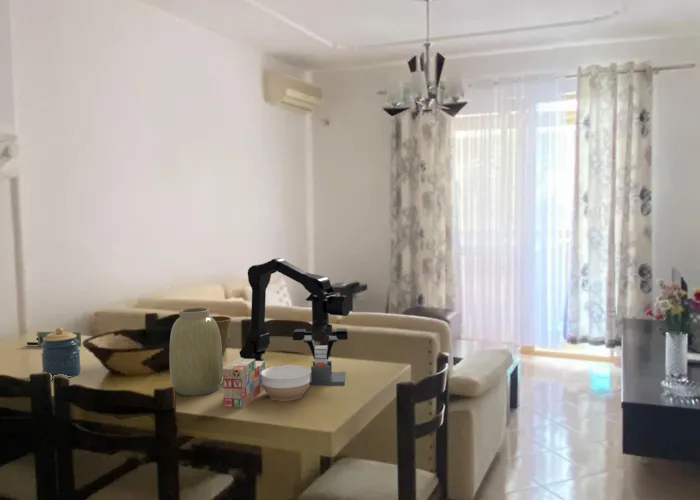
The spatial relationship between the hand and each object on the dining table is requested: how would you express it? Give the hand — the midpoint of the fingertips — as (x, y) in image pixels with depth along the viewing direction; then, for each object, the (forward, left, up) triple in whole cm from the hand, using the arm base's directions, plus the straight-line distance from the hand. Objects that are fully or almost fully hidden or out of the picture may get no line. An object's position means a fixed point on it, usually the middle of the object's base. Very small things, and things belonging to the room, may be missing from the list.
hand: (321, 359), depth 223 cm
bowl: (-10, -15, -8) cm, 20 cm away
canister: (-97, +13, -8) cm, 98 cm away
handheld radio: (-124, +62, -8) cm, 139 cm away
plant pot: (-46, +35, -8) cm, 58 cm away
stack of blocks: (-23, -17, -8) cm, 30 cm away
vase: (-41, -8, -8) cm, 43 cm away
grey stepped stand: (0, +2, -8) cm, 8 cm away
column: (0, 0, -4) cm, 4 cm away
